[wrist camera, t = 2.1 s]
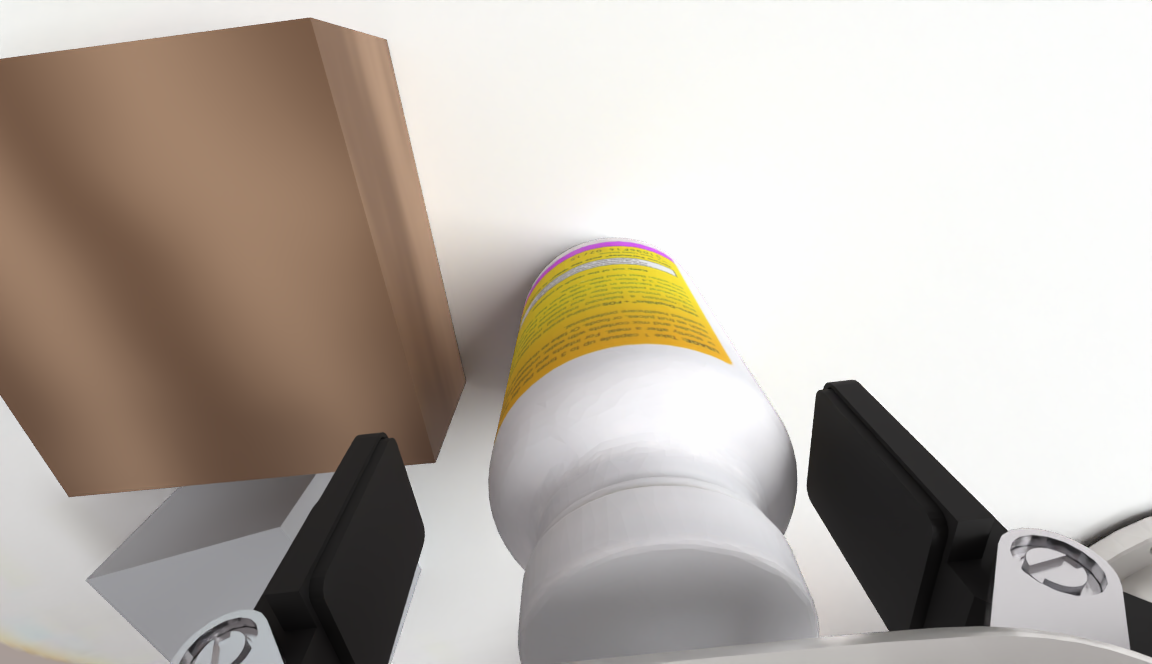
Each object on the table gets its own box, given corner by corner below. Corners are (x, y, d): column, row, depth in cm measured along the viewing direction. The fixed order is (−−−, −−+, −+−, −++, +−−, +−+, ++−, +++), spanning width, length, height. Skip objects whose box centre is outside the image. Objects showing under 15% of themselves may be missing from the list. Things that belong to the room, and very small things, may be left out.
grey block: (340, 437, 22) (280, 526, 18) (422, 565, 25) (389, 669, 21) (181, 484, 23) (85, 580, 19) (279, 602, 26) (217, 707, 22)
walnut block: (386, 39, 16) (310, 17, 11) (465, 381, 21) (435, 462, 16) (11, 88, 16) (-208, 86, 12) (177, 410, 21) (69, 496, 17)
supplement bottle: (487, 303, 19) (354, 624, 8) (633, 193, 18) (748, 389, 6) (593, 422, 22) (617, 811, 10) (732, 335, 20) (957, 677, 8)
